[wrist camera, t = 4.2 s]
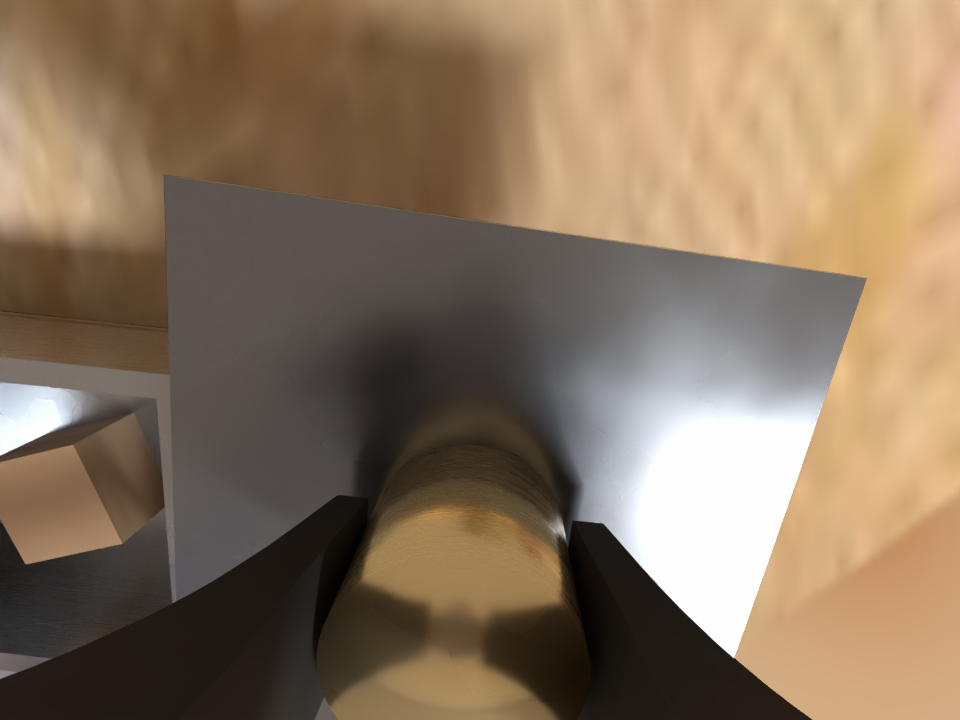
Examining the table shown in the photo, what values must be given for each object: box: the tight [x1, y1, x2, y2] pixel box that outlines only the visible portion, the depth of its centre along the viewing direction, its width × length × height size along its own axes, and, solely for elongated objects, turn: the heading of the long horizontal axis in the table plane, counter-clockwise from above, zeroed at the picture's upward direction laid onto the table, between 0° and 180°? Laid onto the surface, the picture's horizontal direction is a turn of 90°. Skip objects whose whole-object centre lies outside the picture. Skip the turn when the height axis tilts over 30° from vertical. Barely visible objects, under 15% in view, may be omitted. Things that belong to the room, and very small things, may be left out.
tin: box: [0, 311, 176, 672], centre depth 19 cm, size 12×12×5 cm
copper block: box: [0, 413, 165, 564], centre depth 20 cm, size 4×4×3 cm
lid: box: [164, 175, 867, 720], centre depth 10 cm, size 13×13×5 cm
